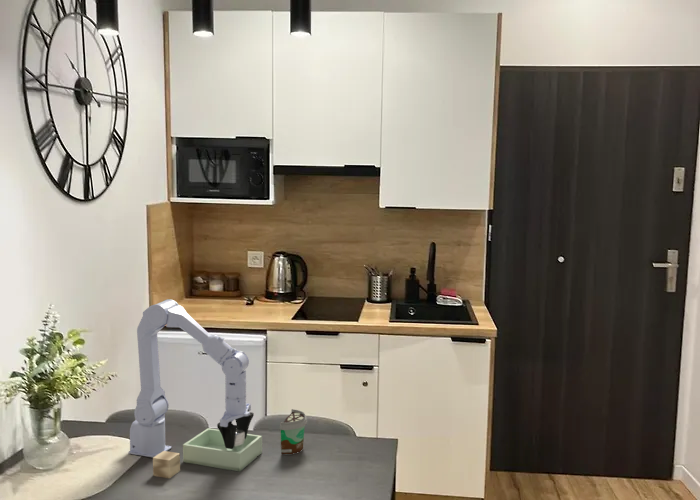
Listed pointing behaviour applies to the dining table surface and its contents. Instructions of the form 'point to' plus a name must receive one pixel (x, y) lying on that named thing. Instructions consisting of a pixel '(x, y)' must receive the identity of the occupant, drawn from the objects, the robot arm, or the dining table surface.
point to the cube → (166, 464)
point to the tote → (220, 451)
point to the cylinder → (238, 441)
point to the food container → (293, 432)
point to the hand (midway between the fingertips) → (235, 443)
